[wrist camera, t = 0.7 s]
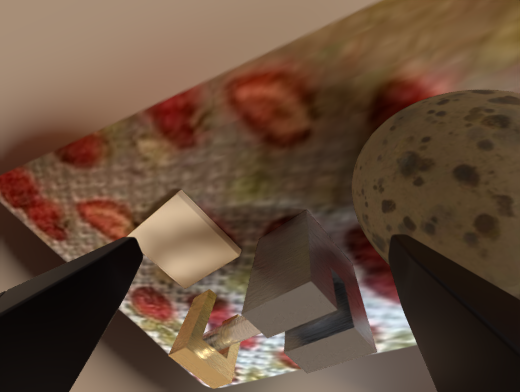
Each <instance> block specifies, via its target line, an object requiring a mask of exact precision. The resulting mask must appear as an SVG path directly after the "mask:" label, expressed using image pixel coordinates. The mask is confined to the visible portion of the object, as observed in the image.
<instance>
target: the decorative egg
mask: <svg viewBox="0 0 520 392" xmlns="http://www.w3.org/2000/svg"><path fill="white" fill-rule="evenodd" d="M352 198H353V205H354V209H355V212H356V216H357V218H358V221H359V223H360V226H361V228H362V230H363V232H364V234H365V235H366V237H367V239H368V240H369V242H370V243H371V245H372V246H373V247H374V249H375V250H376V251H377V252H378V254H379V255H380V256H381V257H382V258H383V259H384V260H385V261H386V262H387V263H388V264H389V260H388V253H389V246H390V239H391V236H392V235H393V234H407V235H409V236H411V237H412V238H414V239H416V240H418V241H419V242H421V243H423V244H424V245H426V246H428V247H430V248H431V249H433V250H435V251H437V252H438V253H440V254H442V255H444V256H445V257H447V258H449V259H451V260H452V261H454V262H456V263H457V264H459V265H461V266H463V267H464V268H466V269H468V270H470V271H471V272H473V273H475V274H477V275H478V276H480V277H482V278H483V279H485V280H487V281H489V282H490V283H492V284H494V285H496V286H497V287H499V288H501V289H503V290H504V291H506V292H508V293H509V294H511V295H513V296H515V297H516V298H518V299H520V93H515V92H509V91H499V90H466V91H457V92H450V93H445V94H441V95H437V96H433V97H430V98H427V99H424V100H421V101H419V102H416V103H414V104H412V105H410V106H408V107H406V108H404V109H402V110H401V111H399V112H397V113H396V114H394V115H393V116H392V117H390V118H389V119H387V120H386V121H385V122H384V123H383V124H382V125H381V126H380V127H379V128H377V130H376V131H375V132H374V133H373V134H372V135H371V136H370V138H369V139H368V140H367V142H366V143H365V145H364V146H363V148H362V150H361V152H360V154H359V156H358V158H357V161H356V164H355V167H354V171H353V177H352Z"/></svg>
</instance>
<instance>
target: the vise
mask: <svg viewBox="0 0 520 392" xmlns="http://www.w3.org/2000/svg"><path fill="white" fill-rule="evenodd" d="M241 315H242V316H240V317H238V318H235V319H233V320H231V321H229V322H227V323H225V324H223V325H221V326H219V327H216V328H214V329H212V330H210V331H208V332H206V333H204V334H203V336H202V339H203V340H204V341H205V342H206V343H208V344H209V345H210V346H211V347H213V348H214V349H215V350H216V351H220V350H222V349H224V348H227V347H229V346H231V345H234V344H236V343H239V342H241V341H243V340H246V339H248V338H251V337H253V336H255V335H258V334H260V333H263V334H264V335H265V336H266V337H267V338H269V337H272V336H274V335H277V334H279V333H282V332H284V331H285V346H284V353H285V354H286V355H287V356H288V357H289V358H290V359H292V360H293V361H294V362H295V363H296V364H297V365H298V366H299V367H300V368H302V369H303V370H304V371H305V372H306V373H310V372H313V371H317V370H320V369H323V368H327V367H330V366H333V365H336V364H339V363H343V362H346V361H349V360H353V359H356V358H359V357H362V356H366V355H369V354H372V353H376V352H377V350H376V347H375V343H374V339H373V336H372V332H371V329H370V325H369V322H368V318H367V315H366V311H365V308H364V304H363V300H362V297H361V293H360V290H359V286H358V283H357V279H356V276H355V272H354V269H353V265H352V263H351V262H350V261H349V260H348V259H347V257H346V256H345V255H344V254H343V253H342V251H341V250H340V249H339V248H338V247H337V246H336V244H335V243H334V242H333V241H332V240H331V238H330V237H329V236H328V235H327V234H326V232H325V231H324V230H323V229H322V228H321V226H320V225H319V224H318V223H317V222H316V220H315V219H314V218H313V217H312V216H311V215H310V213H309V212H308V211H307V210H306V211H304V212H302V213H301V214H299V215H297V216H296V217H294V218H293V219H291V220H289V221H288V222H286V223H284V224H283V225H281V226H280V227H278V228H276V229H275V230H273V231H271V232H270V233H268V234H267V235H265V236H263V237H262V238H260V239H259V241H258V245H257V250H256V254H255V258H254V263H253V267H252V271H251V275H250V280H249V284H248V288H247V292H246V297H245V301H244V305H243V309H242V314H241Z"/></svg>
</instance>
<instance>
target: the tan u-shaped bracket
mask: <svg viewBox="0 0 520 392" xmlns="http://www.w3.org/2000/svg"><path fill="white" fill-rule="evenodd" d="M216 297H217V295H216V294H215V293H214V292H212V291H211V290H210V289H209V290H207V291H205V292H204V293H202V294H200V295H198V296H197V297H195V298H194V300H193V303H192V305H191V307H190V309H189V311H188V313H187V316H186V318H185V320H184V322H183V324H182V327H181V329H180V331H179V333H178V335H177V338H176V340H175V342H174V344H173V346H172V349H171V351H170V353H169V355H168V356H170V357H171V358H172V359H174V360H175V361H176V362H178V363H179V364H180V365H182V366H183V367H184V368H186V369H187V370H189V371H190V372H191V373H193V374H194V375H195V376H197V377H198V378H199V379H201V380H202V381H203V382H205V383H206V384H207V385H209V386H210V387H211V388H213V389H214V388H217V387H220V386H223V385H226V384H229V383H232V378H233V373H234V369H235V364H236V359H237V355H238V350H239V345H240V342H239V343H236V344H234V345H231V346H229V347H227V348H224V349H222V350H220V351H216V350H215V349H214V348H213V347H211V346H210V345H209V344H208V343H206V342H205V341H204V340H203V339H202V336H203V333H204V331H205V328H206V325H207V322H208V319H209V317H210V314H211V311H212V308H213V306H214V303H215V300H216ZM238 317H240V316H239V315H238V314H237V315H235V316H233V317H231V318H229V319H227V320H225V321H223V323H222V325H223V324H225V323H227V322H229V321H231V320H233V319H235V318H238Z"/></svg>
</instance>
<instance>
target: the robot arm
mask: <svg viewBox="0 0 520 392" xmlns="http://www.w3.org/2000/svg"><path fill="white" fill-rule="evenodd" d="M142 260H143V253H142V251H141V248H140V246H139V243H138V241H137V239H136V238H135V237H123V238H120V239H118V240H116V241H114V242H112V243H109V244H107V245H105V246H103V247H101V248H98V249H96V250H94V251H92V252H90V253H87V254H85V255H83V256H81V257H79V258H77V259H74V260H72V261H70V262H68V263H66V264H63V265H61V266H59V267H57V268H55V269H53V270H50V271H48V272H46V273H44V274H41V275H39V276H37V277H35V278H33V279H31V280H28V281H26V282H24V283H22V284H19V285H17V286H15V287H13V288H11V289H9V290H7V291H4V292H2V293H0V392H69V391H70V389H71V388H72V386H73V384H74V383H75V381H76V379H77V378H78V376H79V374H80V372H81V371H82V369H83V367H84V366H85V364H86V362H87V361H88V359H89V357H90V356H91V354H92V352H93V350H94V349H95V347H96V345H97V344H98V342H99V340H100V339H101V337H102V335H103V334H104V332H105V330H106V328H107V327H108V325H109V323H110V322H111V320H112V318H113V317H114V315H115V313H116V311H117V310H118V308H119V306H120V305H121V303H122V301H123V299H124V298H125V296H126V294H127V292H128V290H129V288H130V286H131V283H132V281H133V279H134V277H135V275H136V273H137V271H138V269H139V267H140V264H141V262H142ZM388 260H389V265H390V268H391V272H392V275H393V279H394V282H395V285H396V289H397V292H398V296H399V299H400V302H401V306H402V308H403V311H404V314H405V316H406V318H407V321H408V323H409V326H410V328H411V330H412V333H413V335H414V337H415V340H416V342H417V345H418V347H419V349H420V351H421V354H422V356H423V359H424V361H425V363H426V366H427V368H428V370H429V373H430V375H431V378H432V380H433V382H434V385H435V387H436V390H437V392H520V299H518V298H516V297H515V296H513V295H511V294H509V293H508V292H506V291H504V290H503V289H501V288H499V287H497V286H496V285H494V284H492V283H490V282H489V281H487V280H485V279H483V278H482V277H480V276H478V275H477V274H475V273H473V272H471V271H470V270H468V269H466V268H464V267H463V266H461V265H459V264H457V263H456V262H454V261H452V260H451V259H449V258H447V257H445V256H444V255H442V254H440V253H438V252H437V251H435V250H433V249H431V248H430V247H428V246H426V245H424V244H423V243H421V242H419V241H418V240H416V239H414V238H412V237H411V236H409V235H407V234H393V235H392V236H391V239H390V246H389V253H388Z"/></svg>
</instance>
